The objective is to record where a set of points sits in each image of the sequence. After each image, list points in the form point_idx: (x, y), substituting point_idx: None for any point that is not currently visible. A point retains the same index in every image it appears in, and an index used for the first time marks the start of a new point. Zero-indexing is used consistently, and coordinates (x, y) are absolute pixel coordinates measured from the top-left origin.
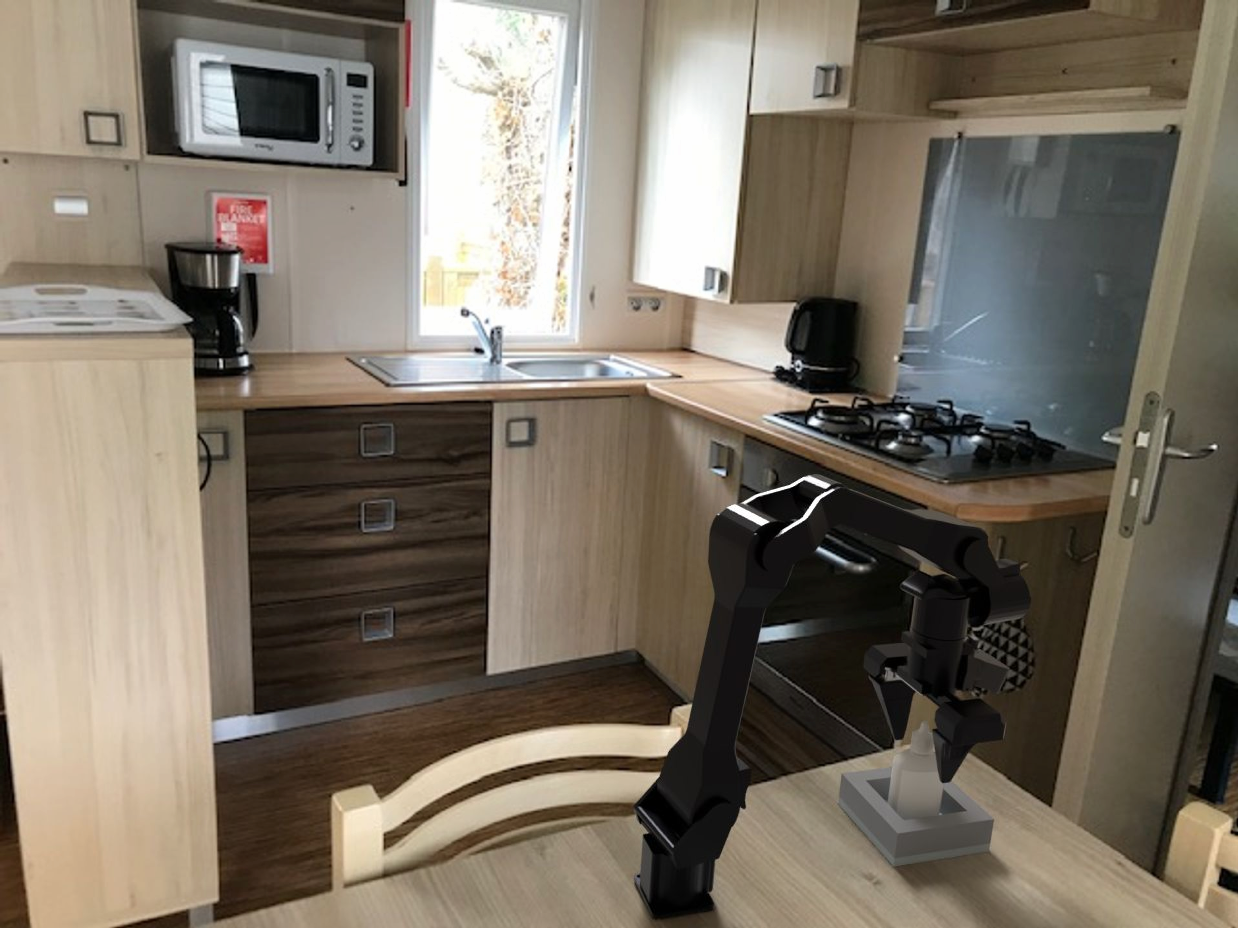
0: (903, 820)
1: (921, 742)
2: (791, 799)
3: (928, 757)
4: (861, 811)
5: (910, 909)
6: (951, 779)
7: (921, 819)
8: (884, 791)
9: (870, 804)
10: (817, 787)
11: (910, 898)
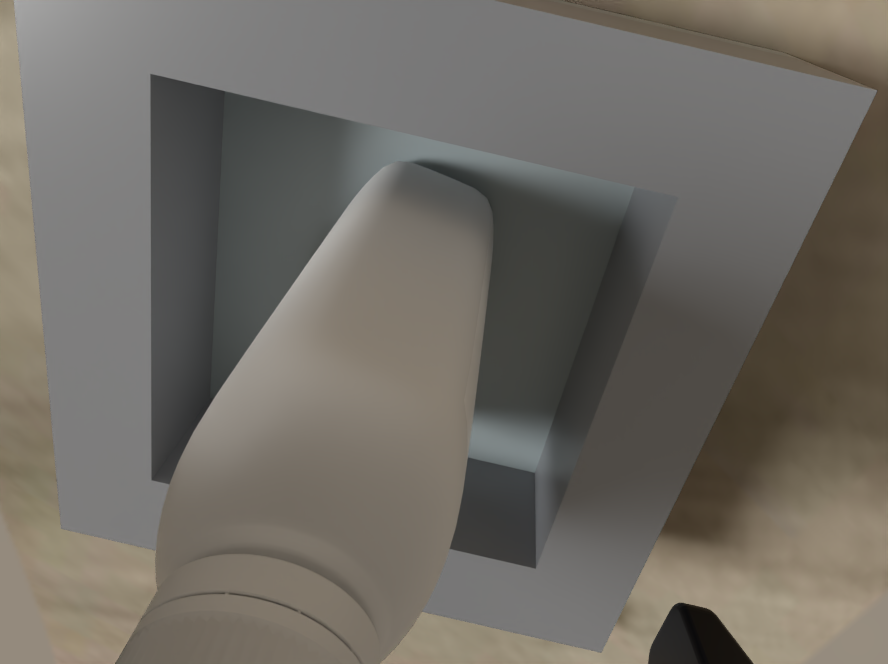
0: (535, 568)
1: None
2: (83, 535)
3: (382, 622)
4: None
5: (789, 623)
6: (725, 631)
7: (579, 499)
8: (192, 325)
9: None
10: (15, 409)
11: (752, 589)
